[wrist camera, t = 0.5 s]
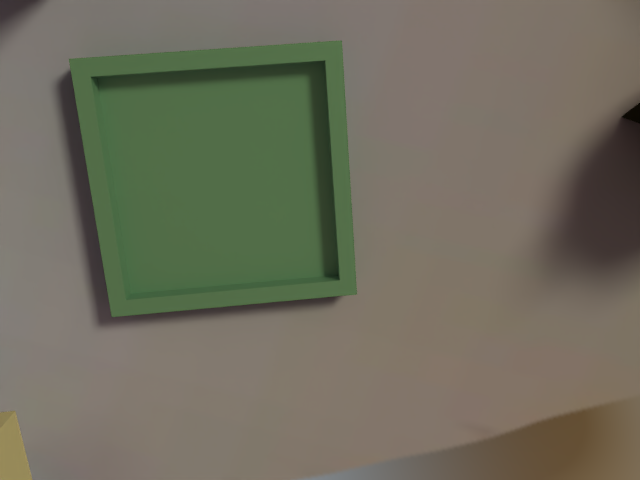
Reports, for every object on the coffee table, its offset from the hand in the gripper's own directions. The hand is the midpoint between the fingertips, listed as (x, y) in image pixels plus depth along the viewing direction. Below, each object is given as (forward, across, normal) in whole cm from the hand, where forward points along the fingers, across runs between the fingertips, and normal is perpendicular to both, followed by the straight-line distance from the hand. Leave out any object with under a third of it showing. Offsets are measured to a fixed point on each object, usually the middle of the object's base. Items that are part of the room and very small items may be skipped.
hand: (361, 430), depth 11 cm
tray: (+25, -5, +2) cm, 26 cm away
